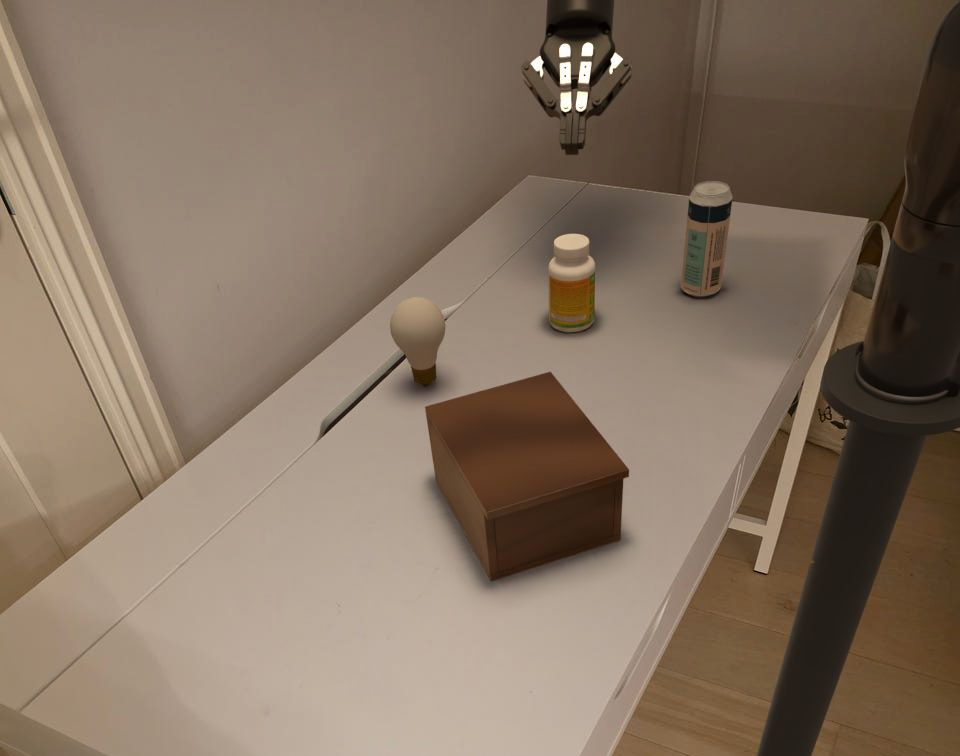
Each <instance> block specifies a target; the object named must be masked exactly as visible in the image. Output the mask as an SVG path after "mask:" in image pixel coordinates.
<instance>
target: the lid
mask: <svg viewBox="0 0 960 756" xmlns="http://www.w3.org/2000/svg"><path fill="white" fill-rule="evenodd" d="M424 410H425V415H426V414H427V416H428V418H429V420H430V421H431V423H432V425H433V427H434V428H435V430H436V432H437V433H438V435H439V437H440V439H441V440H442V442H443V444H444V445H445V447H446V449H447V451H448V452H449V454H450V456H451V457H452V459H453V461H454V463H455V464H456V466H457V468H458V470H459V471H460V473H461V475H462V476H463V478H464V480H465V482H466V483H467V485H468V487H469V488H470V490H471V492H472V494H473V495H474V497H475V499H476V500H477V502H478V504H479V506H480V507H481V509H482V511H483V512H484V514H485V516H486V518H487V519H488V520H490V519H493V518H496V517H500V516H503V515H506V514H509V513H513V512H516V511H519V510H522V509H526V508H529V507H532V506H535V505H539V504H542V503H545V502H549V501H552V500H555V499H558V498H562V497H565V496H568V495H571V494H575V493H578V492H581V491H585V490H588V489H591V488H594V487H598V486H601V485H604V484H607V483H611V482H614V481H617V480H621V479H624V480H625V479H626V478H629V477H630V469H629V468H628V466H627V465H626V463H625V462H624V461H623V460H622V459H621V457H620V456H619V455H618V454H617V452H616V451H615V450H614V449H613V448H612V446H611V445H610V443H609V442H608V441H607V440H606V439H605V437H604V436H603V435H602V434H601V432H600V431H599V430H598V429H597V428H596V426H595V425H594V424H593V423H592V421H591V420H590V419H589V418H588V417H587V415H586V414H585V413H584V411H583V410H582V409H581V408H580V406H579V405H578V404H577V402H576V401H575V400H574V399H573V398H572V396H571V395H570V394H569V392H568V391H567V390H566V388H564V386H563V385H562V384H561V382H560V381H559V380H558V378H556V377H555V375H554V374H553V372H552V371H548V372H544V373H540V374H537V375H533V376H530V377H526V378H521V379H518V380H514V381H512V382H509V383H504V384H501V385H498V386H494V387H490V388H486V389H483V390H479V391H476V392H472V393H468V394H465V395H460V396H457V397H454V398H450V399H447V400H444V401H440V402H436V403H433V404H428V405H425V406H424Z"/></svg>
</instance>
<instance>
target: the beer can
mask: <svg viewBox="0 0 960 756" xmlns="http://www.w3.org/2000/svg"><path fill="white" fill-rule="evenodd" d="M732 204H733V194H732V191H731V187H730V186H729V185H728V183H725V182H724V181H719V180H706V181H702V182H698V183H697V184H696V185H695V186H694V187H693V190H692V191H691V193H690V194H689V197H688V207H687V216H686V217H687V219H686V228H685V239H684V249H683V260H682V269H681V270H682V271H681V281H680V288H681V290H682V291H683V292H684V293H686V294H688V295H689V296H691V297H696V298H706V297H709V296H712V295H714V294H716V293H718V292H719V291H720V290H721V288H722V284H723V283H722V281H723V275H724V269H725V268H724V267H725V260H726V259H725V258H726V252H727V243H728V238H729V237H728V236H729V228H730V222H731V221H730V220H731V214H732V213H731V212H732Z"/></svg>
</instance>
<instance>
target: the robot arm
mask: <svg viewBox="0 0 960 756" xmlns="http://www.w3.org/2000/svg"><path fill="white" fill-rule="evenodd" d="M614 11H615V0H546V15H545V16H546V17H545V33H544V40H543V42H542V45H541V46H540V49H539V56H537V57H536V58H535V59H534V60H532V61H531V62H530V61H524V62H522V63H521V67H520V69H521V74H522V78H523V82H524V84H525V85H526V87H527V88H528V90H529V91H530V92H531V94H532V96H533V97H534V98H535V99H536V101H537V102H538V103H539V105H540V107H541V108H542V110H543V111H544V112H545V113H546V115H547V116H548V117H549V118H557V119H559V121H560V122H559V137H558V138H559V139H558V141H559V146H560V149H561V150H562V151H563V150H564V154H565V156H579V151H580V150H583V149H584V147H585V145H586V134H587V133H586V132H587V121H588V120H589V118H591V117H594V116H595V117H600V116H601V115H603V114H604V113H605V111H606V110H607V108H608V107H609V106H610V105H611V103H612V102H613V101H614V100H615V99H616V97H617V96H618V95H619V94H620V92H621V91H622V90H623V89H624V87H625V86H626V85H627V83H628V82H629V81H630V80H631V78H632V69H633V68H632V67H633V66H632V59H631V58H629V57H624V58H623V57H622V56H620V55H619V54H618V53H616V44H615V42H614V40H613V28H614V27H613V26H614ZM544 69H545V71H546V72H547V74H548V76H549V77H550V78H551V80H552V81H553V83H554V84H555V86H556V87H558V88H559V91H560V92H559V93H560V99H557V98H556V97H555V95H554V94H553V92H552V91H551V89H550V88H549V87H548V85H547V84H546V82H545V81H544V80H545V74H544ZM608 69H609V73H608V75H609V76H608V77H607V78H606V79H605V80H604V82H603V83H602V84H601V86H600V87H599V88H598V89H597V91H596V92H595V94H594V95H593V96H592V88H593V87H594V86H596V85H597V84H598V83H599V82H600V80H601V78H602V77H603V76H604V74H605V73H606V72H607V70H608ZM573 90H577V94H576V101H575V109H574V108H573V97H574V95H573V94H574V93H573ZM591 96H592V97H591ZM914 101H915V102H914V106H913V111H912V116H911V121H910V125H909V129H908V134H907V139H906V144H905V149H904V157H903V159H904V160H903V161H904V162H903V163H904V165H903V166H904V175H905V186H904V191H903V195H902V198H901V202H900V206H899V210H898V214H897V218H896V221H895V225H894V229H893V232H892V235H891V240H890V242H889V243H890V244H889V248H888V251H887V255H886V259H885V262H884V266H883V269H882V273H881V276H880V281H879V284H878V288H877V292H876V295H875V299H874V303H873V306H872V310H871V313H870V317H869V321H868V325H867V328H866V332H865V336H864V339H863V340H862V341H863V342H862V343H861V344H860V345H859V346H858V347H857V350H856V354H855V357H856V356H857V355H858V354H859V353H860V356H859V360H858V362H857V365H856V368H855V373H854V375H855V380H856V382H857V383H858V385H859V386H860V387H861V388H862V389H863V390H865V391H866V392H867V393H869V394H871V395H873V396H875V397H877V398H879V399H882V400H885V401H889V402H893V403H899V404H909V405H917V404H927V403H932V402H935V401H938V400H941V399H943V398H945V397H957V396H958V393H959V390H960V0H957V1H956V2H955V3H954V4H952V6H951V7H950V8H949V9H948V11H947V12H946V13H945V14H944V16H943V17H942V18H941V20H940V22H939V24H938V25H937V27H936V29H935V32H934V34H933V36H932V38H931V41H930V44H929V46H928V49H927V52H926V54H925V59H924V62H923V66H922V70H921V74H920V78H919V82H918V87H917V92H916V97H915V100H914ZM573 109H574V110H573Z"/></svg>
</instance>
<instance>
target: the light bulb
mask: <svg viewBox="0 0 960 756" xmlns="http://www.w3.org/2000/svg"><path fill="white" fill-rule="evenodd" d="M389 329H390V335H391V337H392V340H393V342H394V344H395V345H396V346H397V348H399V350H401V352H402V353H403V355H404V356H405V358H406V360H407V362H408V364H409V365H410V369H411V373H412V378H413V382H414V383H415V384H418V385H421V386H424V387H428V386H430V385H431V384H432V383H434V382H436V380H437V378H438V376H437V363H436V362H437V359H438V352H439V348H440V346H441V344H442V343H443V341H444V338H445V334H446V321H445V317H444V314H443V311H442V310H441V309H440V307H439V306H438V305H437V304H436V303H435V302H433V301H432V300H430V299H429V298H426V297H422V296H412V297H408V298H405V299H404V300H402V301H401V302H400V303H398V304H397V306H396V307H395V308H394V309H393V311H392V314H391V317H390V321H389Z"/></svg>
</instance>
